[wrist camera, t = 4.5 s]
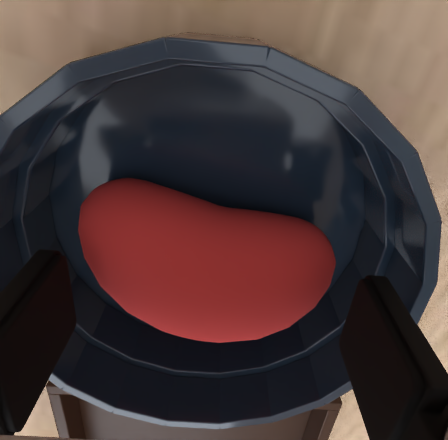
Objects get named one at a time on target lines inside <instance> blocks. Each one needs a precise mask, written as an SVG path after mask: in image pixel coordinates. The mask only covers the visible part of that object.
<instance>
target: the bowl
mask: <svg viewBox="0 0 448 440" xmlns="http://www.w3.org/2000/svg"><path fill="white" fill-rule="evenodd" d="M121 178H134V179H140V180H145V181H149V182H152V183H155V184H158V185H161V186H164V187H167V188H170V189H173V190H176V191H179V192H182V193H185V194H188V195H191V196H194V197H197V198H200V199H202V200H205V201H208V202H211V203H213V204H216V205H219V206H223V207H228V208H238V209H247V210H256V211H263V212H270V213H276V214H282V215H287V216H292V217H297V218H300V219H303V220H305V221H308V222H310V223H312V224H313V225H315V226H316V227H318V228H319V229H320V230H321V231H322V232H323V233H324V234H325V235H326V237H327V238H328V240H329V241H330V243H331V246H332V249H333V252H334V255H335V259H336V266H335V270H334V273H333V277H332V280H331V284H330V286H329V288H328V289H327V291H326V292H325V294H324V295H323V296H322V298H321V299H320V301H319V302H318V304H317V305H316V306H315V308H313V309H312V310H311V311H310V312H308V313H307V314H306V315H304V316H303V317H302V318H300V319H299V320H298V321H297V322H295V323H294V324H293V325H291V326H290V327H289V328H286V329H283V330H281V331H278V332H276V333H273V334H270V335H268V336H265V337H263V338H260V339H257V340H246V341H235V342H223V343H216V342H205V341H198V340H193V339H188V338H183V337H179V336H176V335H172V334H169V333H166V332H164V331H161V330H159V329H157V328H155V327H153V326H151V325H150V324H148V323H146V322H144V321H142V320H140V319H139V318H137V317H135V316H133V315H131V314H129V313H128V312H126V311H125V310H124V309H123V308H122V307H121V306H120V305H119V304H118V303H117V302H116V301H115V300H114V299H113V298H112V297H111V296H110V295H109V294H108V293H107V292H106V291H105V290H104V289H103V288H102V287H101V286H100V284H99V283H98V281H97V279H96V277H95V276H94V274H93V272H92V270H91V269H90V267H89V265H88V263H87V262H86V260H85V258H84V255H83V250H82V246H81V242H80V237H79V233H78V225H79V215H80V206H81V204H82V203H83V202H84V200H85V199H86V198H87V197H88V195H89V194H90V193H91V192H92V191H93V190H94V189H95V188H97V187H98V186H100V185H102V184H104V183H106V182H109V181H112V180H116V179H121ZM441 224H442V221H441V216H440V213H439V210H438V208H437V205H436V202H435V199H434V196H433V194H432V191H431V188H430V185H429V182H428V180H427V177H426V174H425V171H424V168H423V165H422V163H421V160H420V157H419V154H418V152H417V151H416V149H415V148H414V147H413V146H412V145H411V144H410V143H409V141H408V140H407V139H406V138H405V137H404V136H403V135H402V134H401V133H400V132H399V131H398V130H397V129H396V128H395V126H394V125H393V124H392V123H391V122H390V121H389V120H388V119H387V118H386V117H385V116H384V115H383V114H382V112H381V111H380V110H379V109H378V108H377V107H376V106H375V105H374V104H373V103H372V102H371V101H370V100H369V98H368V97H367V96H366V95H365V94H364V93H363V92H362V91H361V90H360V89H358V88H357V87H355V86H353V85H351V84H349V83H347V82H345V81H343V80H341V79H339V78H337V77H335V76H333V75H331V74H329V73H327V72H325V71H323V70H321V69H319V68H317V67H315V66H313V65H311V64H309V63H307V62H305V61H303V60H300V59H298V58H296V57H294V56H292V55H290V54H288V53H286V52H284V51H282V50H280V49H277V48H275V47H273V46H271V45H269V44H267V43H265V42H263V41H261V40H259V39H257V40H256V39H254V38H245V37H234V36H223V35H213V34H202V33H191V32H187V33H179V34H174V35H170V36H165V37H161V38H157V39H154V40H150V41H146V42H143V43H139V44H135V45H132V46H128V47H124V48H121V49H117V50H113V51H110V52H106V53H102V54H99V55H95V56H92V57H88V58H84V59H81V60H77V61H73V62H70V63H69V64H66V65H65V66H64V67H62V68H61V69H60V70H58V71H57V72H56V73H54V74H53V75H52V76H51V77H49V78H48V79H47V80H45V81H44V82H43V83H41V84H40V85H39V86H38V87H36V88H35V89H34V90H32V91H31V92H30V93H28V94H27V95H26V96H24V97H23V98H22V99H21V100H19V101H18V102H17V103H15V104H14V105H13V106H11V107H10V108H9V109H8V110H6V111H5V112H4V113H2V114H1V115H0V292H1V291H2V290H3V289H4V288H5V287H6V286H7V285H8V284H9V283H10V281H11V280H12V279H13V278H14V277H15V276H16V275H17V273H18V272H19V271H20V270H21V269H22V268H23V267H24V265H25V264H26V263H27V262H28V261H29V260H30V258H31V257H32V256H33V255H34V254H35V253H36V252H37V251H38V250H40V249H45V250H58V251H60V253H61V255H62V256H65V257H66V259H67V264H68V270H69V276H70V282H71V288H72V294H73V301H74V307H75V313H76V326H75V329H74V331H73V333H72V335H71V337H70V339H69V341H68V343H67V345H66V347H65V349H64V351H63V353H62V354H61V356H60V358H59V360H58V362H57V364H56V366H55V368H54V370H53V372H52V374H51V376H50V377H49V379H48V380H49V381H50V382H52V383H53V384H54V385H56V386H57V387H58V388H59V389H61V390H63V391H65V392H67V393H69V394H72V395H74V396H76V397H78V398H80V399H82V400H84V401H87V402H89V403H91V404H93V405H95V406H97V407H99V408H102V409H104V410H106V411H108V412H110V413H113V414H117V415H121V416H125V417H129V418H133V419H137V420H141V421H146V422H150V423H154V424H158V425H162V426H167V427H185V428H203V429H228V428H235V427H243V426H251V425H259V424H266V423H273V422H277V421H280V420H283V419H286V418H289V417H292V416H295V415H298V414H301V413H304V412H307V411H310V410H313V409H316V408H319V407H322V406H325V404H329V403H330V402H332V401H333V400H335V399H337V398H338V397H340V396H342V395H343V394H345V393H347V392H348V391H350V390H352V389H353V388H352V385H351V382H350V379H349V376H348V373H347V370H346V367H345V364H344V361H343V358H342V355H341V352H340V348H339V339H340V336H341V333H342V330H343V327H344V324H345V321H346V318H347V315H348V312H349V309H350V306H351V303H352V300H353V297H354V294H355V291H356V288H357V285H358V282H359V280H360V279H364V278H365V277H366V276H367V275H374V276H385V277H387V278H388V279H389V281H390V283H391V284H392V286H393V287H394V289H395V291H396V292H397V294H398V295H399V297H400V299H401V300H402V302H403V304H404V305H405V307H406V308H407V310H408V312H409V313H410V315H411V317H412V318H413V320H414V321H415V323H416V324H418V322H419V320H420V318H421V316H422V314H423V312H424V310H425V308H426V306H427V303H428V301H429V299H430V297H431V295H432V293H433V291H434V289H435V287H436V285H437V280H438V266H439V252H440V238H441Z"/></svg>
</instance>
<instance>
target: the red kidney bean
mask: <svg viewBox="0 0 448 440" xmlns="http://www.w3.org/2000/svg"><path fill="white" fill-rule="evenodd" d="M78 233H79V237H80V242H81V246H82V250H83V255H84V258H85V260H86V262H87V263H88V265H89V267H90V269H91V270H92V272H93V274H94V276H95V277H96V279H97V281H98V283H99V284H100V286H101V287H102V288H103V289H104V290H105V291H106V292H107V293H108V294H109V295H110V296H111V297H112V298H113V299H114V300H115V301H116V302H117V303H118V304H119V305H120V306H121V307H122V308H123V309H124V310H125V311H126V312H128V313H129V314H131V315H133V316H135V317H137V318H139V319H140V320H142V321H144V322H146V323H148V324H150V325H151V326H153V327H155V328H157V329H159V330H161V331H164V332H166V333H169V334H172V335H176V336H179V337H183V338H188V339H193V340H198V341H205V342H216V343H223V342H235V341H246V340H257V339H260V338H263V337H265V336H268V335H270V334H273V333H276V332H278V331H281V330H283V329H286V328H289V327H290V326H291V325H293V324H294V323H295V322H297V321H298V320H299V319H300V318H302V317H303V316H304V315H306V314H307V313H308V312H310V311H311V310H312V309H313V308H315V306H316V305H317V304H318V302H319V301H320V299H321V298H322V296H323V295H324V294H325V292H326V291H327V289H328V288H329V286H330V284H331V280H332V277H333V273H334V270H335V266H336V259H335V255H334V252H333V249H332V246H331V243H330V241H329V240H328V238H327V237H326V235H325V234H324V233H323V232H322V231H321V230H320V229H319V228H318V227H316V226H315V225H313V224H312V223H310V222H308V221H305V220H303V219H300V218H297V217H292V216H287V215H282V214H276V213H270V212H263V211H256V210H247V209H238V208H228V207H223V206H219V205H216V204H213V203H211V202H208V201H205V200H202V199H200V198H197V197H194V196H191V195H188V194H185V193H182V192H179V191H176V190H173V189H170V188H167V187H164V186H161V185H158V184H155V183H152V182H149V181H145V180H140V179H134V178H121V179H116V180H112V181H109V182H106V183H104V184H102V185H100V186H98V187H97V188H95V189H94V190H93V191H92V192H91V193H90V194H89V195H88V197H87V198H86V199H85V200H84V202H83V203H82V204H81V206H80V215H79V225H78Z"/></svg>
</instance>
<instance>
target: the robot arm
mask: <svg viewBox="0 0 448 440" xmlns="http://www.w3.org/2000/svg"><path fill="white" fill-rule="evenodd" d="M75 326H76V313H75V307H74V301H73V294H72V288H71V282H70V276H69V270H68V264H67V259H66V257H65V256H62V255H61V253H60V251H58V250H45V249H40V250H38V251H37V252H36V253H35V254H34V255H33V256H32V257H31V258H30V260H29V261H28V262H27V263H26V264H25V265H24V267H23V268H22V269H21V270H20V271H19V272H18V273H17V275H16V276H15V277H14V278H13V279H12V280H11V281H10V283H9V284H8V285H7V286H6V287H5V288H4V289H3V290H2V291H1V292H0V440H89V439H73V438H57V437H36V436H14V433H15V432H20V431H21V430H22V429H23V427H24V425H25V423H26V422H27V420H28V418H29V416H30V414H31V412H32V410H33V408H34V406H35V404H36V402H37V400H38V399H39V397H40V395H41V393H42V391H43V389H44V387H45V385H46V383H47V381H48V379H49V377H50V376H51V374H52V372H53V370H54V368H55V366H56V364H57V362H58V360H59V358H60V356H61V354H62V353H63V351H64V349H65V347H66V345H67V343H68V341H69V339H70V337H71V335H72V333H73V331H74V329H75ZM339 348H340V352H341V355H342V358H343V361H344V364H345V367H346V370H347V373H348V376H349V379H350V382H351V385H352V388H353V391H354V394H355V397H356V400H357V403H358V406H359V409H360V412H361V415H362V418H363V421H364V424H365V427H366V430H367V433H368V436H369V439H370V440H448V373H447V372H446V370H445V369H444V367H443V365H442V364H441V362H440V361H439V359H438V357H437V356H436V354H435V352H434V351H433V349H432V348H431V346H430V344H429V343H428V341H427V340H426V338H425V336H424V335H423V333H422V331H421V330H420V328H419V327H418V325H417V324H416V323H415V321H414V320H413V318H412V317H411V315H410V313H409V312H408V310H407V308H406V307H405V305H404V304H403V302H402V300H401V299H400V297H399V295H398V294H397V292H396V291H395V289H394V287H393V286H392V284H391V283H390V281H389V279H388V278H387V277H385V276H374V275H367V276H366V277H365V278H364V279H360V280H359V282H358V285H357V288H356V291H355V294H354V297H353V300H352V303H351V306H350V309H349V312H348V315H347V318H346V321H345V324H344V327H343V330H342V333H341V336H340V339H339Z"/></svg>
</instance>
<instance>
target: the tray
mask: <svg viewBox="0 0 448 440" xmlns="http://www.w3.org/2000/svg"><path fill="white" fill-rule="evenodd" d="M46 388H47V392H48V395H49V399H50V403H51V407H52V411H53V415H54V418H55V422H56V426H57V430H58V434H59V438H73V439H89V440H328V438H329V435H330V433H331V430H332V428H333V425H334V423H335V420H336V418H337V415H338V413H339V410H340V408H341V405H342V401H341V398H340V397H338V398H337V399H335V400H333V401H332V402H330V403H329V404H325V406H322V407H319V408H316V409H313V410H310V411H307V412H304V413H301V414H298V415H295V416H292V417H289V418H286V419H283V420H280V421H277V422H273V423H266V424H259V425H251V426H243V427H235V428H228V429H203V428H185V427H167V426H162V425H158V424H154V423H150V422H146V421H141V420H137V419H133V418H129V417H125V416H121V415H117V414H113V413H110V412H108V411H106V410H104V409H102V408H99V407H97V406H95V405H93V404H91V403H89V402H87V401H84V400H82V399H80V398H78V397H76V396H74V395H72V394H69V393H67V392H65V391H63V390H61V389H59V388H58V387H57V386H56V385H54V384H53V383H52V382H50V381H48V383H47V385H46Z"/></svg>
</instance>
